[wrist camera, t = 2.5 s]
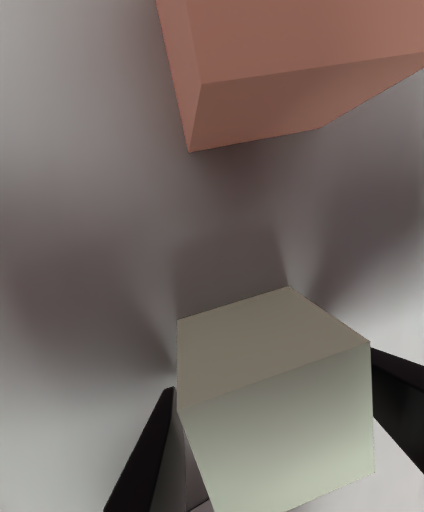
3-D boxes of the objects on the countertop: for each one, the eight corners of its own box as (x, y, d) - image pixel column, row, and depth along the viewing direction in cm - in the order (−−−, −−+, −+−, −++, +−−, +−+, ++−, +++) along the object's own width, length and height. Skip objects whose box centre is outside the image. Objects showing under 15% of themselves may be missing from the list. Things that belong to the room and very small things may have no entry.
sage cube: (299, 373, 10) (375, 472, 6) (205, 407, 10) (224, 538, 6) (286, 284, 9) (370, 341, 5) (176, 318, 8) (176, 410, 4)
